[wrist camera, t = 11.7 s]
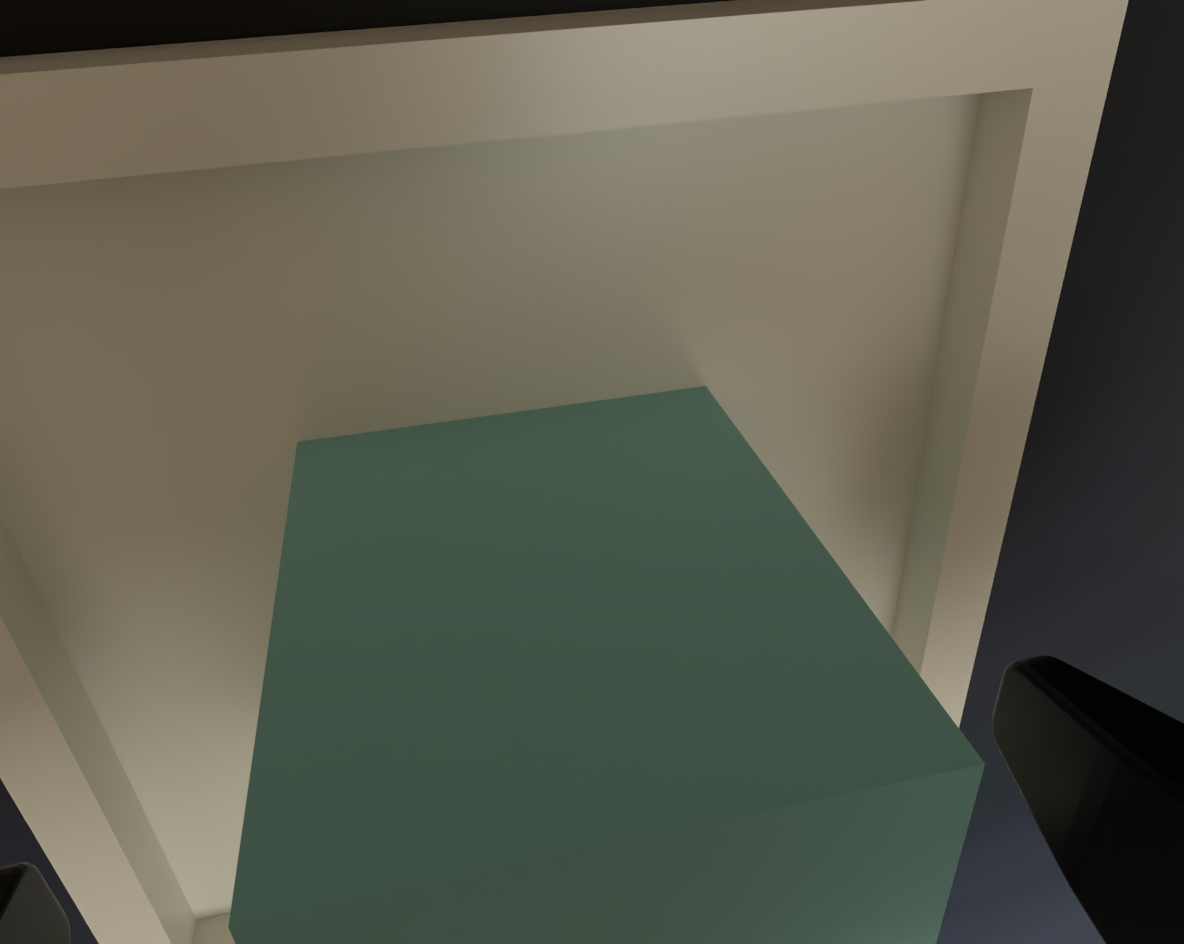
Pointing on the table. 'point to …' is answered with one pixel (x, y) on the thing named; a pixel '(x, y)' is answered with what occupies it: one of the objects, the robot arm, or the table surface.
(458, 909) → the teal block
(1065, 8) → the tray
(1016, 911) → the table surface
